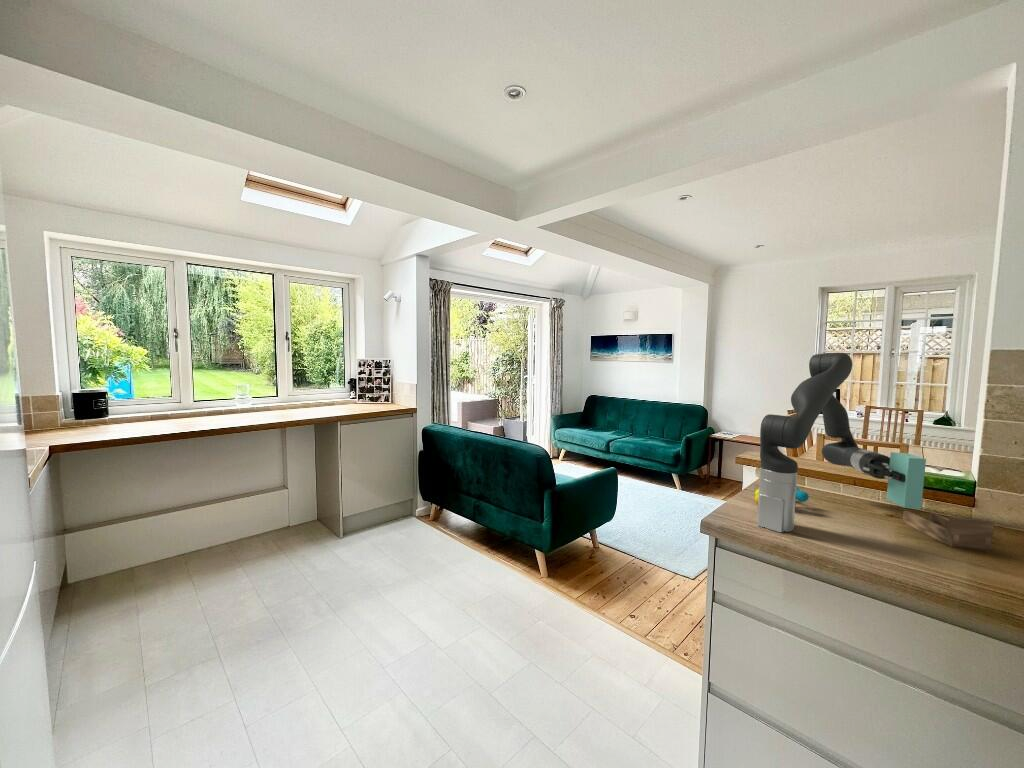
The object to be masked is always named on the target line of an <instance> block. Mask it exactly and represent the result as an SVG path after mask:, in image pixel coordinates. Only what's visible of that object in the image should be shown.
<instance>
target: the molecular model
mask: <svg viewBox="0 0 1024 768" xmlns="http://www.w3.org/2000/svg"><path fill="white" fill-rule="evenodd" d="M754 495H755V496H754V502H755V503H756V504H757V505H758V499H759V488H757V489H756V490H755V492H754ZM809 498H810V497H809V494H808V493H807V492H806V491H804V490H800V488H799V487H798V486H797V485H796V499H795V501H799V502H800V503H804V502H807V501H808V500H809Z"/></svg>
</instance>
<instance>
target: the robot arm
mask: <svg viewBox="0 0 1024 768" xmlns="http://www.w3.org/2000/svg"><path fill="white" fill-rule="evenodd" d="M808 368H809V370H808V371H809V374H810V377H809V378H806V379H805V380H803V381H801V382H800V383H799V384H798V385H797V387H796V388H795V390H793V392H792V393H791V397H790V403H791V406H792V407H793V410H794V411H795V413H796V414H797V415H796V416H789V415H780V414H766V415H765V416H764V417H763V418H762V419H761V423H760V432H759V433H760V434H759V435H760V436H759V439H760V441H759V443H760V444H759V445H760V446H759V447H760V450H759V453H760V454H759V459H760V469H759V471H760V472H759V482H758V483H759V485H758V487H759V488H758V489H759V499H758V504H757V515H756V516H757V518H756V523H757V526H758V527H761V528H764V527H765V528H764V529H767V530H772V531H774V532H778V533H784V531H785V533H787V532H788V533H789V532H792V531H794V530H795V529H794V528H795V512H796V511H795V509H796V500H797V499H796V493H797V492H796V486H797V482H798V481H797V480H798V467H799V464H798V462H797V461H796V460H794V459H793V458H791V457H789V456H787V455H786V454H784V453H783V452H782V451H781V450H780V449H779V447H780V448H785V449H792V450H793V449H799V448H801V447H803V445H804V444H805V443H806V440H807V438H808V436H809V434H810V433H811V430H812V428H813V426H814V424H815V422H816V420H817V418H818V417H819V415H820V414H821V413H822V420H823V426H824V431H825V435H826V436H827V437H829V438H834V439H841V441H836V442H831V443H830V442H829V443H827V444H824V445H823V446H822V448H821V455H822V457H823V458H824V459H825V460H826V461H827V463H830V464H832V465H837V466H842V467H844V466H845V467H850V468H853V469H855V470H857V471H859V472H860V473H862V474H865V475H867V476H870V477H872V478H874V479H877V480H884V479H888V478H889V479H895V480H898V481H900V482H905V474H902V473H900V472H897V471H894V470H893V469H890V467H889V465H890V456H888V455H885V454H883V453H879V452H875V451H872V450H867V449H864V448H861V447H859V446H858V444H857V442H856V440H855V438H854V436H853V434H852V431H851V428H850V426H851V425H850V419H849V415H848V411H847V409H846V408H845V407H844V405H843V404H842V403H841V402H840V401H839V400H838V398H836V397H835V395H834V393H835V392H836V391H837V389H838V388H839V387H840V386H841V385H842V384H844V382H845V381H846V380H847V379H848V378H849V376H850V374H851V373H852V369H853V359H852V358H851V356H850V355H849V354H847V353H845V352H829V353H828V352H827V353H817V354H816V353H815V354H813V355H812V356H811V357H810V359H809V364H808ZM925 482H926V476H925V475H924V483H925ZM795 499H796V500H795Z"/></svg>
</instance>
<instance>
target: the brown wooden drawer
mask: <svg viewBox="0 0 1024 768" xmlns="http://www.w3.org/2000/svg"><path fill="white" fill-rule="evenodd" d="M929 515H930V516H929V517H930V518H929V519H926V518H924V517H922V516H920V515H918V514H916V513H913V512H911V511H909V510H903V517H902V518H901V522H903V524H906V525H909V526H910V527H912V528H914V529H916V530H918V531H920V532H922V533H923V534H925V535H927V536H929V537H931V538H933V539H935V540H937V541H939V542H941V543H943V544H944V543H945V545H946V544H947V545H946V546H948V545H949V547H950V546H951V548H955V547H958V548H957V549H966V548H968V549H969V550H970V549H971V550H978V551H979V550H980V551H989V550H991V551H992V549H993V548H992V547H993V539H994V529H995V520H992V519H990V518H989V519H988V518H977V517H965V516H952V515H951V516H950V515H949V518H947V517H946V516H943V515H940V514H938V513H936V512H930V514H929Z"/></svg>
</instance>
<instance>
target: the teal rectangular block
mask: <svg viewBox="0 0 1024 768" xmlns="http://www.w3.org/2000/svg"><path fill="white" fill-rule="evenodd" d="M889 457H890V465H889V467H890V469H893V470H894V471H897V472H900V473H902V474H905V482H900V481H898V480H895V479H889V478H887V489H886V490H887V491H886V501H889V502H892V503H894V504H896V505H898V506H900V507H902V508H904V509H905V508H906V509H916V510H921V509H922V504H923V493H924V485H925V482H924V476H925V473H926V466H927V465H926V463H927V459H926V458H924V457H920V456H918V455H914V454H910V453H907V452H892V451H891V452H890V456H889Z"/></svg>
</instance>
